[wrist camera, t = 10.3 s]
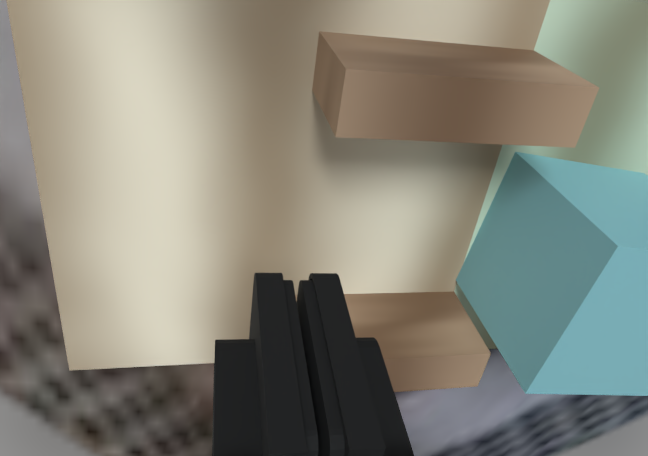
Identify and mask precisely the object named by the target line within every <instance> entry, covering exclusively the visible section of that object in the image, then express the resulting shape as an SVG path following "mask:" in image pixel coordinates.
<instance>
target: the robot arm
mask: <svg viewBox="0 0 648 456" xmlns="http://www.w3.org/2000/svg"><path fill="white" fill-rule="evenodd" d="M212 456H414V454H413V451H412V448H411V444H410V441H409V438H408V435H407V432H406V429H405V425H404V422H403V419H402V416H401V413H400V410H399V406H398V403H397V400H396V397H395V394H394V391H393V387H392V384H391V381H390V378H389V375H388V372H387V368H386V365H385V362H384V359H383V356H382V353H381V349H380V346H379V344H378V342H377V340H376V339H375V338H374V337H363V338H356V337H355V333H354V329H353V326H352V322H351V318H350V315H349V311H348V307H347V304H346V300H345V296H344V293H343V289H342V285H341V282H340V278H339V275H338V274H337V273H311V274H310V275H309V279H308V280H300V282H299V287H298V294H297V302H296V297H295V290H294V284H293V281H292V280H283V274H282V273H255V274H254V282H253V295H252V307H251V320H250V333H249V339H225V340H215V358H214V394H213V446H212Z"/></svg>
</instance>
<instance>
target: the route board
mask: <svg viewBox="0 0 648 456" xmlns="http://www.w3.org/2000/svg"><path fill="white" fill-rule="evenodd" d="M6 1H7V6H8V12H9V18H10V24H11V30H12V36H13V42H14V47H15V53H16V59H17V65H18V71H19V77H20V83H21V89H22V94H23V100H24V106H25V112H26V118H27V124H28V130H29V135H30V141H31V147H32V153H33V159H34V165H35V171H36V177H37V182H38V188H39V194H40V200H41V206H42V212H43V218H44V224H45V229H46V235H47V241H48V247H49V253H50V259H51V265H52V270H53V276H54V282H55V288H56V294H57V300H58V306H59V312H60V317H61V323H62V329H63V335H64V341H65V347H66V353H67V358H68V364H69V370H86V369H105V368H125V367H145V366H165V365H184V364H204V363H214V358H215V340H225V339H249V333H250V320H251V307H252V295H253V282H254V274H255V273H282V274H283V280H292V281H293V284H294V290H295V297H296V302H297V294H298V287H299V282H300V280H308V279H309V275H310V274H311V273H337V274H338V275H339V278H340V282H341V285H342V289H343V293H344V296H345V300H346V304H347V307H348V311H349V315H350V318H351V322H352V326H353V329H354V333H355V337H356V338H363V337H374V338H375V339H376V340H377V342H378V344H379V346H380V349H381V353H382V356H383V359H384V362H385V365H386V368H387V372H388V375H389V378H390V381H391V384H392V387H393V391H394V392H402V391H416V390H431V389H446V388H461V387H476V386H478V384H479V382H480V379H481V377H482V374H483V372H484V369H485V367H486V364H487V362H488V360H489V357H490V355H491V353H490V351H489V349H498V348H497V346H496V345H495V343H494V342H493V340H492V338H491V337H490V335H489V333H488V332H487V330H486V329H485V327H484V325H483V324H482V322H481V320H480V319H479V317H478V315H477V314H476V312H475V311H474V309H473V307H472V306H471V304H470V302H469V301H468V299H467V298H466V296H465V294H464V293H463V291H462V289H461V288H460V286H459V285H458V283H457V281H456V278H457V276H458V274H459V272H460V270H461V268H462V266H463V263H464V261H465V259H466V257H467V255H468V253H469V250H470V248H471V246H472V244H473V242H474V240H475V237H476V235H477V233H478V231H479V229H480V227H481V225H482V222H483V220H484V218H485V216H486V214H487V212H488V209H489V207H490V205H491V203H492V201H493V199H494V197H495V194H496V192H497V190H498V188H499V186H500V184H501V181H502V179H503V177H504V175H505V173H506V171H507V168H508V166H509V164H510V162H511V160H512V158H513V156H514V153H515V152H521V153H527V154H533V155H539V156H545V157H551V158H557V159H563V160H568V161H574V162H580V163H586V164H592V165H598V166H604V167H610V168H616V169H622V170H628V171H634V172H640V173H645V174H646V175H647V176H648V0H6Z"/></svg>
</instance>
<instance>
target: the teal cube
mask: <svg viewBox="0 0 648 456" xmlns="http://www.w3.org/2000/svg"><path fill="white" fill-rule="evenodd" d="M456 281H457V283H458V285H459V286H460V288H461V289H462V291H463V293H464V294H465V296H466V298H467V299H468V301H469V302H470V304H471V306H472V307H473V309H474V311H475V312H476V314H477V315H478V317H479V319H480V320H481V322H482V324H483V325H484V327H485V329H486V330H487V332H488V333H489V335H490V337H491V338H492V340H493V342H494V343H495V345H496V346H497V348H498V350H499V351H500V353H501V355H502V356H503V358H504V359H505V361H506V363H507V364H508V366H509V368H510V369H511V371H512V373H513V374H514V376H515V377H516V379H517V381H518V382H519V384H520V386H521V387H522V389H523V390H524V392H525V394H581V395H638V396H648V176H647V175H646V174H645V173H640V172H634V171H628V170H622V169H616V168H610V167H604V166H598V165H592V164H586V163H580V162H574V161H568V160H563V159H557V158H551V157H545V156H539V155H533V154H527V153H521V152H515V153H514V156H513V158H512V160H511V162H510V164H509V166H508V168H507V171H506V173H505V175H504V177H503V179H502V181H501V184H500V186H499V188H498V190H497V192H496V194H495V197H494V199H493V201H492V203H491V205H490V207H489V209H488V212H487V214H486V216H485V218H484V220H483V222H482V225H481V227H480V229H479V231H478V233H477V235H476V237H475V240H474V242H473V244H472V246H471V248H470V250H469V253H468V255H467V257H466V259H465V261H464V263H463V266H462V268H461V270H460V272H459V274H458V276H457V278H456Z"/></svg>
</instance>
